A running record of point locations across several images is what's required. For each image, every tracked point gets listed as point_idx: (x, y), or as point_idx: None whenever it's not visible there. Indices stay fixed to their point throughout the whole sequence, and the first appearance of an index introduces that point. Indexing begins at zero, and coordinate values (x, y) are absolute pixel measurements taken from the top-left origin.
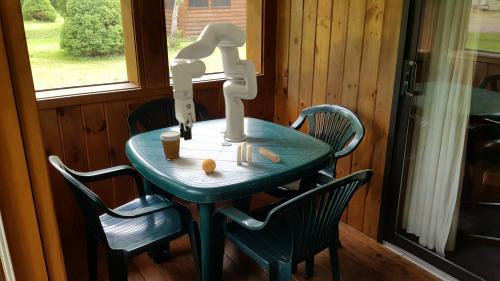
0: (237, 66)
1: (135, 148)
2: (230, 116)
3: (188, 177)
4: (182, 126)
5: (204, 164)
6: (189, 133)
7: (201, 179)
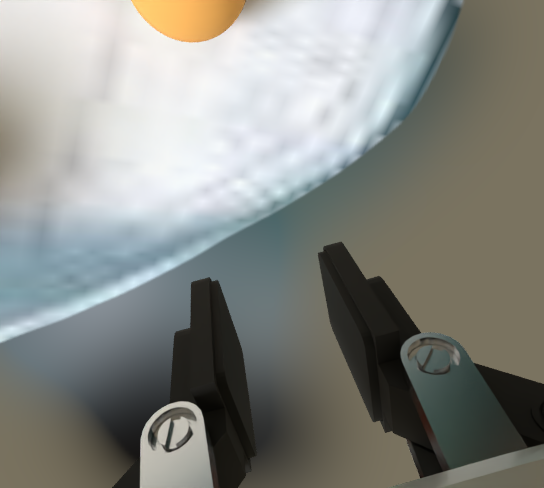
0: None
1: None
2: None
3: (238, 147)
4: (233, 479)
5: (222, 25)
6: (409, 327)
7: (297, 70)
